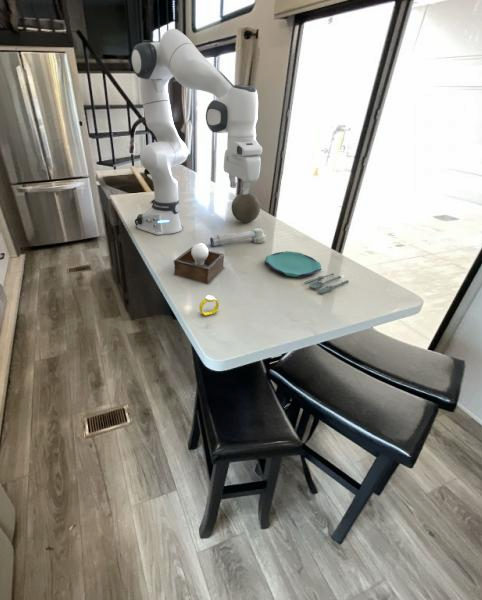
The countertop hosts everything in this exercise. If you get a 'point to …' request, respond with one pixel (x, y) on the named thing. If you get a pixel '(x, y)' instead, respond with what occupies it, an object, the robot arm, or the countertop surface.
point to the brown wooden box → (196, 271)
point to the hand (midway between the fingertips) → (238, 190)
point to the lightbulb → (199, 253)
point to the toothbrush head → (239, 237)
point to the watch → (209, 299)
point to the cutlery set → (299, 268)
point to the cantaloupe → (245, 207)
